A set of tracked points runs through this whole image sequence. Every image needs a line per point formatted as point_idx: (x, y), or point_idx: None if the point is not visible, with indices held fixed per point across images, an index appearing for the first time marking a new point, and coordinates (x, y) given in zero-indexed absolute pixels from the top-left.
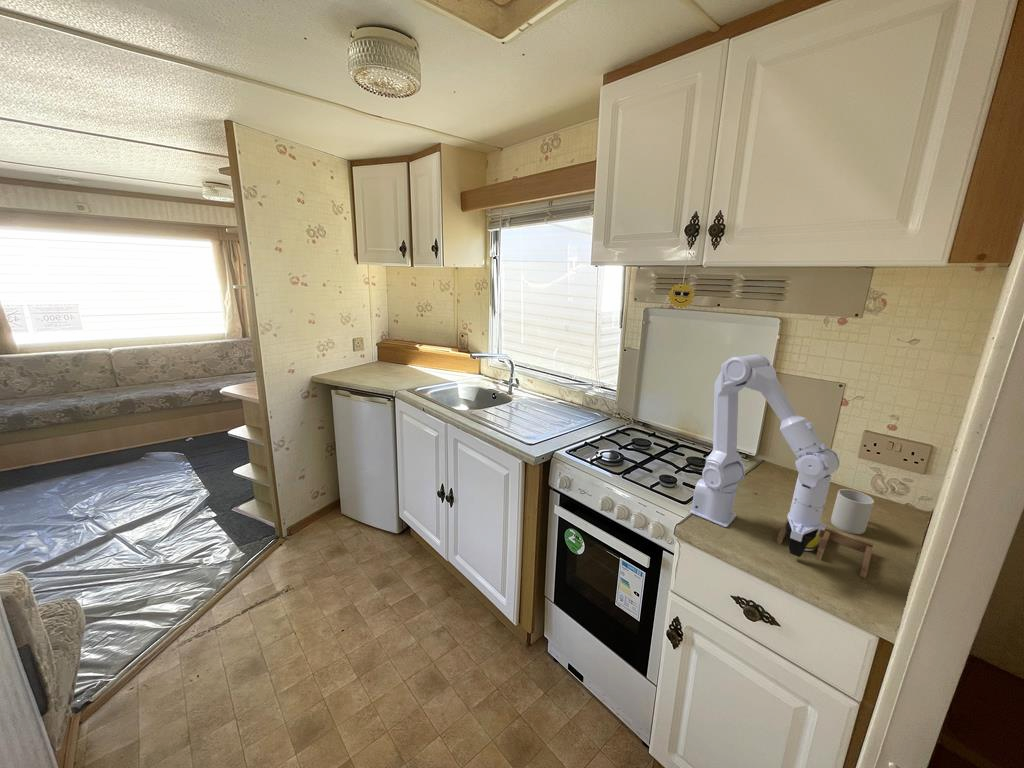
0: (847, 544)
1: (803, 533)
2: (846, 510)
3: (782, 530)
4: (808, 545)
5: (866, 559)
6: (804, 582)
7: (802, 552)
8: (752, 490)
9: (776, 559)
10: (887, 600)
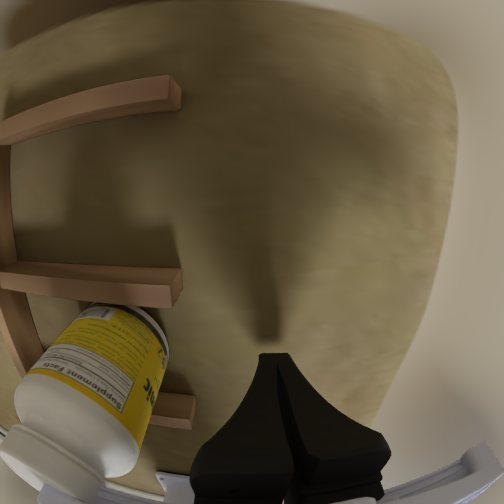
0: (4, 202)
1: (497, 476)
2: None
3: None
4: (151, 340)
5: (71, 106)
6: (407, 291)
7: (298, 369)
8: (17, 422)
9: (319, 387)
10: (299, 21)
